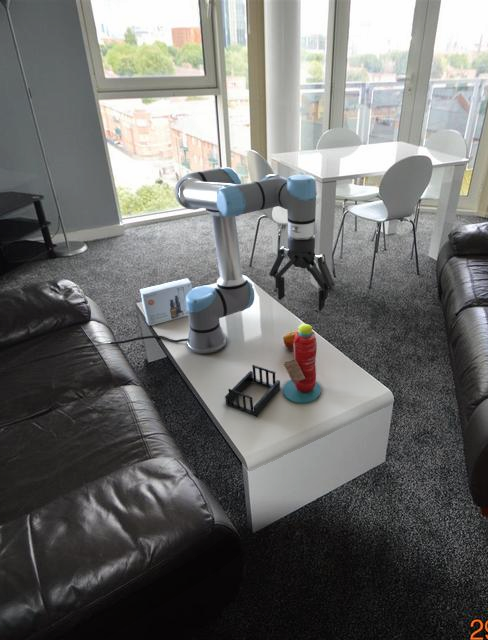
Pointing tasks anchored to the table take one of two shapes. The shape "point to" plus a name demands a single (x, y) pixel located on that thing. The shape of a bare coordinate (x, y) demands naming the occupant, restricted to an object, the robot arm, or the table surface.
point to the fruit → (290, 339)
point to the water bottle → (303, 359)
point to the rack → (259, 405)
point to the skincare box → (165, 301)
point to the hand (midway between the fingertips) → (301, 302)
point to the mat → (300, 393)
